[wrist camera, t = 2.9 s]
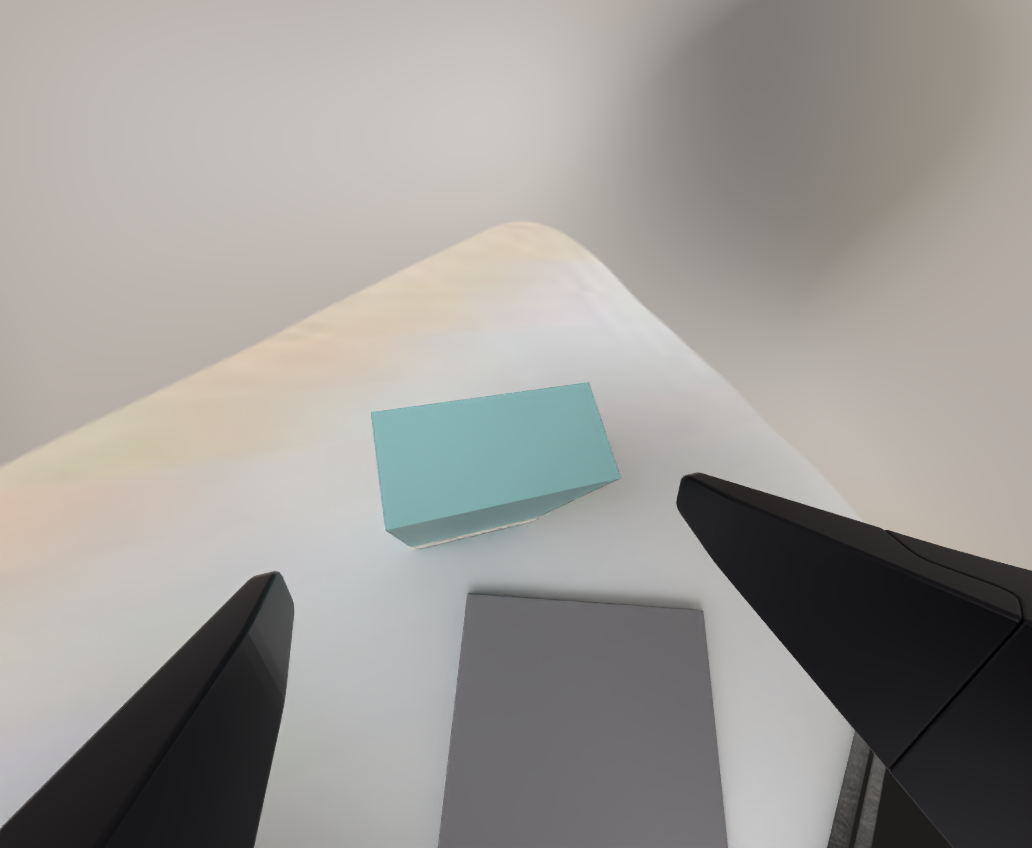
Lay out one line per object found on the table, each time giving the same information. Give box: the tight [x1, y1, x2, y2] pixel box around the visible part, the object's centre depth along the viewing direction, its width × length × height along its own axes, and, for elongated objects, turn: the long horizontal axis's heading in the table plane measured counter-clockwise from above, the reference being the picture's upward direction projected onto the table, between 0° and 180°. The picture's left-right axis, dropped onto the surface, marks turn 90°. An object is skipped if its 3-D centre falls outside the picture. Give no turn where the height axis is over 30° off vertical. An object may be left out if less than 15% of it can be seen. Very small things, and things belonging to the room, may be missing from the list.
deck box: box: [371, 382, 621, 550], centre depth 12 cm, size 2×5×10 cm, turn 103°
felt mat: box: [438, 594, 728, 848], centre depth 14 cm, size 13×11×1 cm
